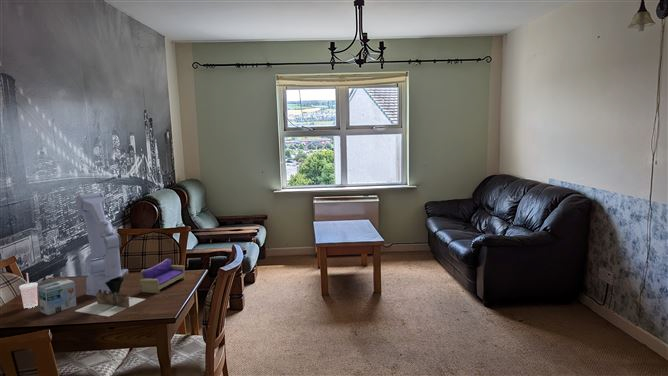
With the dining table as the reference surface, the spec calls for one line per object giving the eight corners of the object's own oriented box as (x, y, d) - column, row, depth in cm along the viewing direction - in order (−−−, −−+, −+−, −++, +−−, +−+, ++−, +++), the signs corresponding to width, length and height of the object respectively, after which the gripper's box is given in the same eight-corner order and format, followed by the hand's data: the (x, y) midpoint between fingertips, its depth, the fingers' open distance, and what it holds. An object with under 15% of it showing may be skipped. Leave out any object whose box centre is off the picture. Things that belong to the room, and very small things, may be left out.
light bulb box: (48, 316, 160) (45, 289, 158) (40, 312, 163) (37, 286, 162) (77, 306, 169) (75, 280, 168) (69, 303, 172) (66, 278, 171)
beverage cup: (18, 310, 167) (14, 276, 165) (26, 304, 173) (22, 271, 171) (35, 308, 168) (31, 274, 166) (42, 302, 174) (39, 270, 172)
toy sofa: (157, 295, 180) (155, 272, 178) (140, 293, 182) (138, 271, 181) (186, 279, 200) (184, 258, 199) (170, 278, 202) (169, 257, 201)
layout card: (74, 312, 163) (74, 310, 163) (113, 295, 180) (113, 294, 180) (108, 317, 157) (108, 316, 157) (145, 300, 173) (145, 298, 173)
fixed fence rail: (117, 306, 166) (115, 293, 166) (119, 305, 167) (118, 292, 167) (127, 308, 164) (125, 294, 164) (129, 306, 166) (128, 293, 165)
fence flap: (118, 304, 168) (117, 291, 167) (115, 305, 166) (114, 292, 166) (99, 301, 171) (98, 289, 171) (97, 302, 170) (95, 290, 169)
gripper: (107, 269, 163) (110, 303, 165) (133, 259, 177) (136, 290, 179) (92, 268, 165) (95, 302, 166) (119, 258, 179) (122, 289, 180)
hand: (115, 295), depth 172 cm, fingers closed
